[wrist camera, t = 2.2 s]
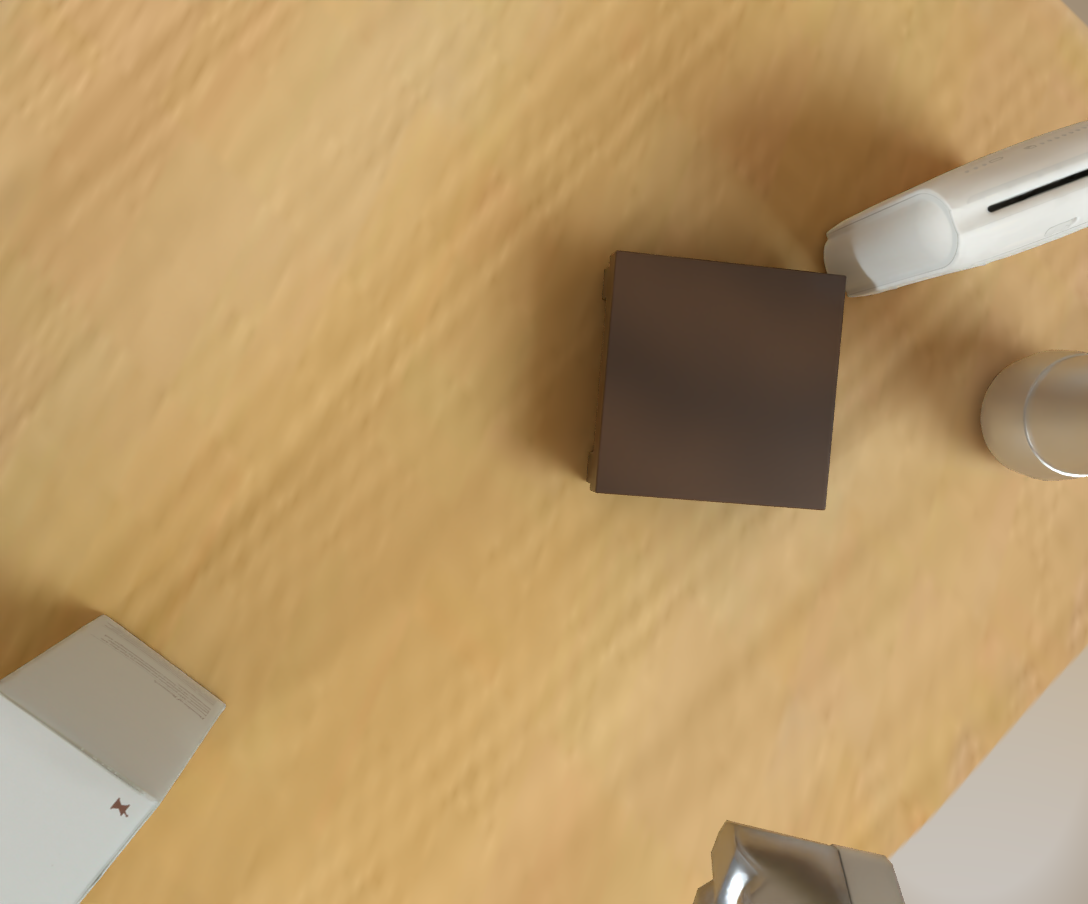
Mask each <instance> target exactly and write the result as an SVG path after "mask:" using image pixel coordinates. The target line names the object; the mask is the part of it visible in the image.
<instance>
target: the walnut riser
mask: <svg viewBox="0 0 1088 904" xmlns="http://www.w3.org/2000/svg"><path fill="white" fill-rule="evenodd" d="M846 278H847V277H846V276H845V275H836V274H827V273H818V272H809V271H800V270H791V269H782V268H772V267H763V266H754V265H745V264H736V263H727V262H718V261H709V260H699V259H690V258H681V257H672V256H663V255H654V254H645V253H636V252H627V251H616V252H614V253H613V254H612V255H611V256H610V261H609V267H607V268H606V269H605V270H604V281H603V293H602V299H603V300H606V308H605V319H604V331H603V343H602V354H601V366H600V377H599V389H598V401H597V412H596V424H595V436H594V447H593V452H589V456H588V467H587V479H586V481H587V482H588V483H590V490H591V491H593V492H596V493H605V494H618V495H631V496H644V497H657V498H670V499H683V500H696V501H709V502H722V503H735V504H748V505H761V506H774V507H787V508H801V509H814V510H825V507H826V496H827V485H828V474H829V463H830V452H831V441H832V430H833V420H834V409H835V398H836V387H837V376H838V365H839V354H840V343H841V332H842V321H843V310H844V300H845V289H846Z"/></svg>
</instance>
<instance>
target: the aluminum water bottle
mask: <svg viewBox="0 0 1088 904" xmlns="http://www.w3.org/2000/svg"><path fill="white" fill-rule="evenodd" d="M980 422H981V429H982V434H983V437H984V440H985V443H986V445H987V447H988V448H989V450H990V452H991V453H992V455H993V456H994V457H995V458H996V459H997V460H998V461H999V462H1000V463H1001V464H1003V465H1004V466H1005V467H1007V468H1008V469H1010V470H1013V471H1015V472H1017V473H1020V474H1023V475H1025V476H1028V477H1031V478H1034V479H1039V480H1044V481H1059V480H1068V479H1076V478H1081V477H1085V476H1088V353H1085V352H1081V351H1069V350H1049V351H1044V352H1039V353H1036V354H1034V355H1031V356H1028V357H1026V358H1023V359H1021V360H1018V361H1016V362H1014V363H1012V364H1011V365H1009V366H1008V367H1006V368H1005V369H1003V370H1002V371H1001V372H1000V373H999V374H998V375H997V376H996V377H995V379H994V380H993V382H992V383H991V384H990V386H989V387H988V390H987V392H986V394H985V397H984V399H983V403H982V408H981V421H980Z"/></svg>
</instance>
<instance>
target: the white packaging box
mask: <svg viewBox="0 0 1088 904" xmlns="http://www.w3.org/2000/svg"><path fill="white" fill-rule="evenodd" d="M225 707H226V704H225V703H224V702H222V701H221V700H220V699H218V698H217V697H216V696H214V695H213V694H212V693H210V692H209V691H208V690H207V689H205V688H204V687H202V686H201V685H200V684H198V683H197V682H196V681H194V680H193V679H192V678H190V677H189V676H187V675H186V674H185V673H184V672H182V671H181V670H180V669H178V668H177V667H176V666H174V665H173V664H171V663H170V662H169V661H167V660H166V659H165V658H164V657H162V656H161V655H160V654H158V653H157V652H155V651H154V650H153V649H151V648H150V647H149V646H147V645H146V644H145V643H143V642H142V641H141V640H139V639H138V638H137V637H135V636H134V635H132V634H131V633H130V632H128V631H127V630H126V629H125V628H123V627H122V626H120V625H119V624H118V623H116V622H115V621H113V620H112V619H111V618H109V617H108V616H106V615H101V616H99V617H97V618H96V619H94V620H93V621H91V622H89V623H88V624H86V625H85V626H83V627H82V628H80V629H79V630H77V631H76V632H74V633H73V634H71V635H69V636H68V637H66V638H65V639H63V640H62V641H60V642H58V643H57V644H55V645H54V646H52V647H51V648H49V649H48V650H46V651H45V652H43V653H42V654H40V655H39V656H37V657H35V658H34V659H32V660H31V661H29V662H28V663H26V664H25V665H23V666H22V667H20V668H18V669H17V670H15V671H14V672H12V673H10V674H9V675H7V676H6V677H4V678H3V679H1V680H0V904H80V902H81V901H82V900H83V899H84V897H85V896H86V895H87V894H88V893H89V891H90V890H91V889H92V888H93V886H94V885H95V884H96V883H97V882H98V880H99V879H100V878H101V877H102V876H103V874H104V873H105V872H106V870H107V869H108V868H109V867H110V865H111V864H112V863H113V862H114V860H115V859H116V858H117V857H118V855H119V854H120V853H121V852H122V851H123V849H124V848H125V847H126V845H127V844H128V843H129V842H130V840H131V839H132V838H133V837H134V835H135V834H136V833H137V832H138V830H139V829H140V828H141V827H142V826H143V824H144V823H145V822H146V821H147V819H148V818H149V817H150V816H151V815H152V813H153V812H154V811H155V810H156V809H157V807H158V806H159V805H160V803H161V802H162V800H163V799H164V797H165V796H166V794H167V793H168V791H169V790H170V788H171V787H172V785H173V784H174V782H175V781H176V780H177V778H178V777H179V775H180V774H181V772H182V771H183V769H184V768H185V766H186V765H187V763H188V762H189V760H190V759H191V757H192V756H193V754H194V753H195V751H196V750H197V748H198V747H199V745H200V744H201V742H202V741H203V739H204V738H205V736H206V735H207V733H208V732H209V730H210V729H211V727H212V726H213V724H214V723H215V721H216V720H217V718H218V717H219V715H220V714H221V713H222V711H223V710H224V709H225Z"/></svg>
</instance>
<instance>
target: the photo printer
mask: <svg viewBox="0 0 1088 904" xmlns="http://www.w3.org/2000/svg"><path fill="white" fill-rule="evenodd" d="M1086 227H1088V120H1087V121H1083V122H1079V123H1076V124H1073V125H1070V126H1066V127H1063V128H1060V129H1057V130H1054V131H1051V132H1048V133H1045V134H1042V135H1040V136H1037V137H1034V138H1031V139H1029V140H1026V141H1023V142H1020V143H1018V144H1015V145H1012V146H1010V147H1007V148H1005V149H1002V150H1000V151H997V152H994V153H992V154H989V155H987V156H984V157H982V158H979V159H977V160H974V161H972V162H969V163H967V164H965V165H962V166H960V167H957V168H955V169H953V170H951V171H948V172H946V173H944V174H942V175H939V176H937V177H935V178H933V179H931V180H929V181H926V182H924V183H922V184H920V185H918V186H915V187H913V188H911V189H909V190H907V191H904V192H902V193H900V194H898V195H896V196H893V197H891V198H889V199H887V200H885V201H882V202H880V203H878V204H876V205H874V206H872V207H870V208H868V209H866V210H864V211H862V212H860V213H858V214H856V215H854V216H852V217H850V218H848V219H846V220H844V221H842V222H841V223H839V224H838V225H836V226H835V227H833V228H832V229H831V230H829V231H828V232H827V233H826V235H827V238H828V240H827V242H826V244H825V247H824V264H825V268H826V271H827V273H828V274H836V275H845V276H846V277H847V278H846V289H845V291H846V292H847V296H848V297H861V296H868V295H873V294H878V293H881V292H885V291H888V290H892V289H897V288H899V287H902V286H905V285H909V284H912V283H916V282H920V281H923V280H927V279H931V278H935V277H938V276H942V275H946V274H950V273H954V272H957V271H961V270H965V269H970V268H974V267H977V266H982V265H986V264H988V263H990V262H993V261H997V260H1000V259H1003V258H1006V257H1009V256H1012V255H1015V254H1018V253H1020V252H1023V251H1026V250H1029V249H1032V248H1034V247H1037V246H1040V245H1043V244H1045V243H1048V242H1050V241H1053V240H1056V239H1059V238H1061V237H1064V236H1066V235H1069V234H1071V233H1074V232H1076V231H1078V230H1081V229H1083V228H1086Z"/></svg>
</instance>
